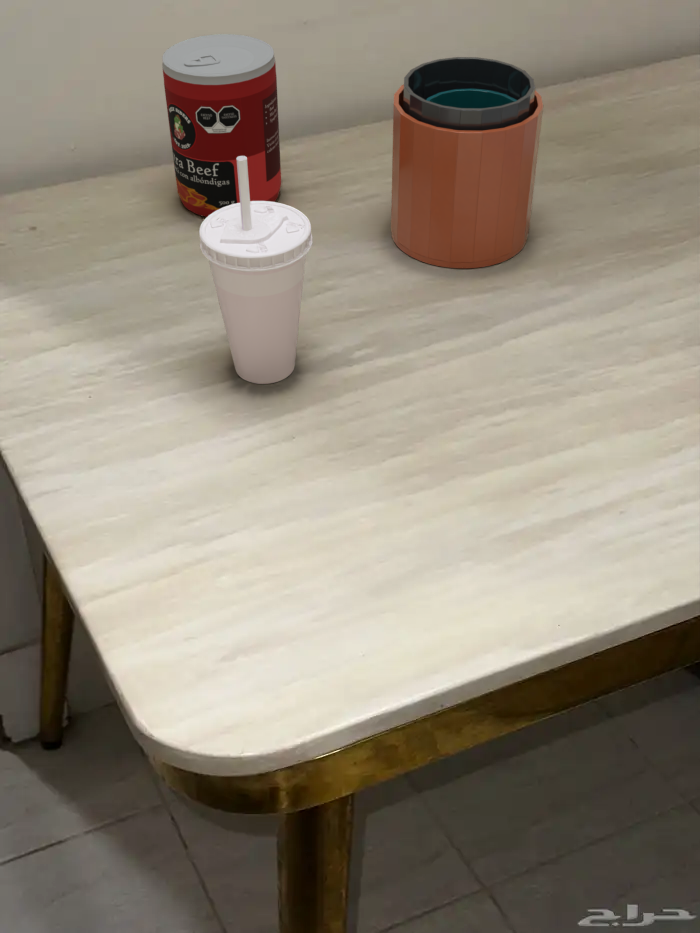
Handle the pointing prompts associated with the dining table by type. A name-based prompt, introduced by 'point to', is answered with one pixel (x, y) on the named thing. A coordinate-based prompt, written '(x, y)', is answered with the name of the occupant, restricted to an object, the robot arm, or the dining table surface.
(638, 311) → the dining table surface
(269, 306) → the smoothie
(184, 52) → the canned food
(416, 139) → the stack
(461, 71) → the stack top
